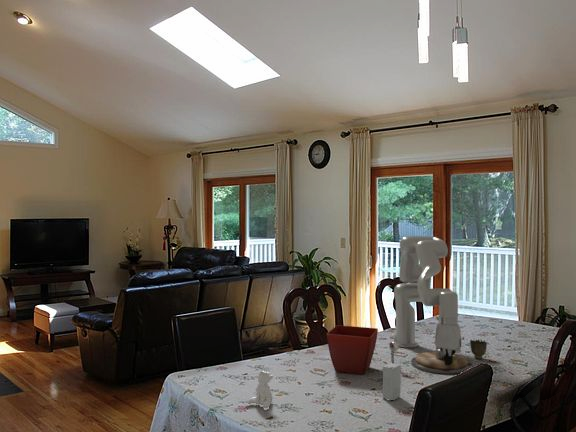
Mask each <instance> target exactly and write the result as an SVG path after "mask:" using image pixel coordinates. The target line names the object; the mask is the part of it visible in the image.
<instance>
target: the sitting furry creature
mask: <svg viewBox="0 0 576 432" xmlns="http://www.w3.org/2000/svg"><path fill="white" fill-rule="evenodd" d="M273 377H274V375H273V374H272V375H271V373H270V372H268V371H266V370H260V371H259V373H258V376H257V382H258V384H257V386H256V387H255V391H256V396H253V397H249V398H248V399H247V400H245V402H246V403H248V404H251V403H256V404H260V405H263V408H268V407H269V406H270V407H271V405H272V402H273V399H274V398H273V395H272V392H271V389H270V388H271V387H270V386H269V384H268V383H270V382H271V380H272V379H273ZM270 404H271V405H270ZM260 405H259V406H260ZM263 408H262V409H263Z"/></svg>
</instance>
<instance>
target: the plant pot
mask: <svg viewBox="0 0 576 432" xmlns="http://www.w3.org/2000/svg"><path fill="white" fill-rule="evenodd" d="M378 333H379V329H378V327H377V328H376V327H365V326H354V325H353V326H352V325H340V324H339V325H335V326H334V327H332V328H331V329H330V330H328V332H327V333H326V339H327V340H326V341H327V345H328V350H329V356H330V359H331V362H332V366H333V369H334V371H335V372H336V371H337V373H344V372H347V373H346V374H353V373H355V375H365V374H366V373H367V371H368V370H369V368H370V366H371V363H372V360H373V356H374V352H375V349H376V344H377V339H378Z"/></svg>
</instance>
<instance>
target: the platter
mask: <svg viewBox="0 0 576 432" xmlns="http://www.w3.org/2000/svg"><path fill="white" fill-rule="evenodd" d="M415 357H416V362H417V363H418V364H420V365H423V366H426V367H430V368H436V369H460V368H464V367H466V366H467V361H468V359H467V358H466V357H464V356H462V355H460V354H456V353H455V354H454V355H453V363H452V364H451V365H449V366H448V365H445V362H444V360H439V359H436V351H428V352H427V351H425V352H420V353H419V354H417V355H415Z"/></svg>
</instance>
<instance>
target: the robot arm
mask: <svg viewBox="0 0 576 432" xmlns="http://www.w3.org/2000/svg"><path fill="white" fill-rule="evenodd" d="M448 250H449V249H448V246H447V243H446V242H445V241H444V240H443V239H441V238H438V237H435V236H431V235H429V236H427V235H426V236H423V235H422V236H421V235H415V236H414V235H411V236H410V235H409V236H404V237H402V238H401V239H400V242H399V251H400V256H401V257H400V265H399V273H398V274H399V275H398V276H399V277H398V278H399V281H400V282H402V283H399V284H396V286H394V288H393V289H394V290H393V295H394V301H395V334H392V333H391V334H390V335H389V339H392V340H393V341H392V342H396V343H397V344H398V346H399V348H404V349H405V348H406V349H407V348H417V347H418V346H419V342H418V341H416V313H415V312H416V311H415V308H414V307H413V305H412V304H411V303H414V302H415V303H417V302H419V303H420V302H421V303H422V305H424V306H425V307H438V313H439V314H438V316H436V317H435V319H436V320H437V321H438V323H436V329H435V333H434V345H435V349H436V348H437V349H439V350H441V351H442V352H443V355H444V362H445V365H448V366H449V365H451V364H452V363H453V355H454V354H456V353H457V354H459V353H462V332H461V327H460V324H459V323H458V322H459V311H458V310H459V306H458V305H459V304H458V303H459V295H458V293H457V292H456V291H452V289H450V288H445V287H444V288H431V282H432V277H435V276H436V275H438V274H439V273H440V272H441V270H442V266H441V263H440V260H439V259H442V258H443V259H444V258H446V257H447V256H448V253H449V251H448ZM448 349H449V352H448Z"/></svg>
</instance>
